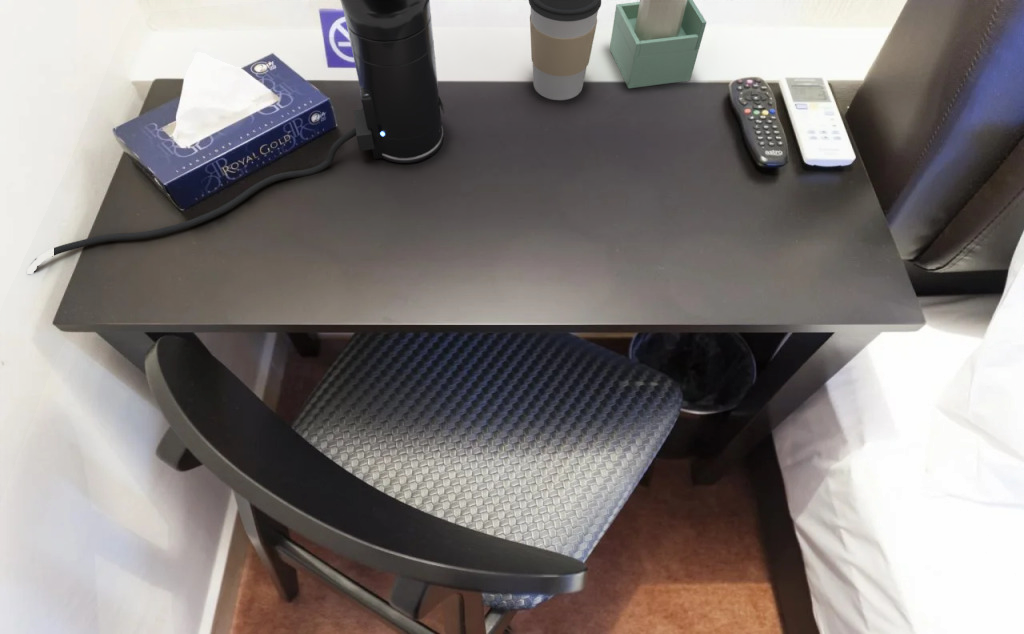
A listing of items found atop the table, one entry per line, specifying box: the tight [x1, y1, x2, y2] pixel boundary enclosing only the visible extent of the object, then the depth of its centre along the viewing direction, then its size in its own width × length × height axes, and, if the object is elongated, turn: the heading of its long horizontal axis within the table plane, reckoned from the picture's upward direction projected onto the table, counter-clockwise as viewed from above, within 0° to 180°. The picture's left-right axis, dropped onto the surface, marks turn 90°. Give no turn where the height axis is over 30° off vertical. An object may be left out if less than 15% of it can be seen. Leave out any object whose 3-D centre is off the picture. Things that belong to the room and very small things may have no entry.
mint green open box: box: [609, 0, 707, 89], centre depth 92 cm, size 9×9×9 cm
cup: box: [634, 0, 687, 41], centre depth 88 cm, size 6×6×9 cm
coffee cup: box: [528, 0, 602, 101], centre depth 87 cm, size 9×9×15 cm
